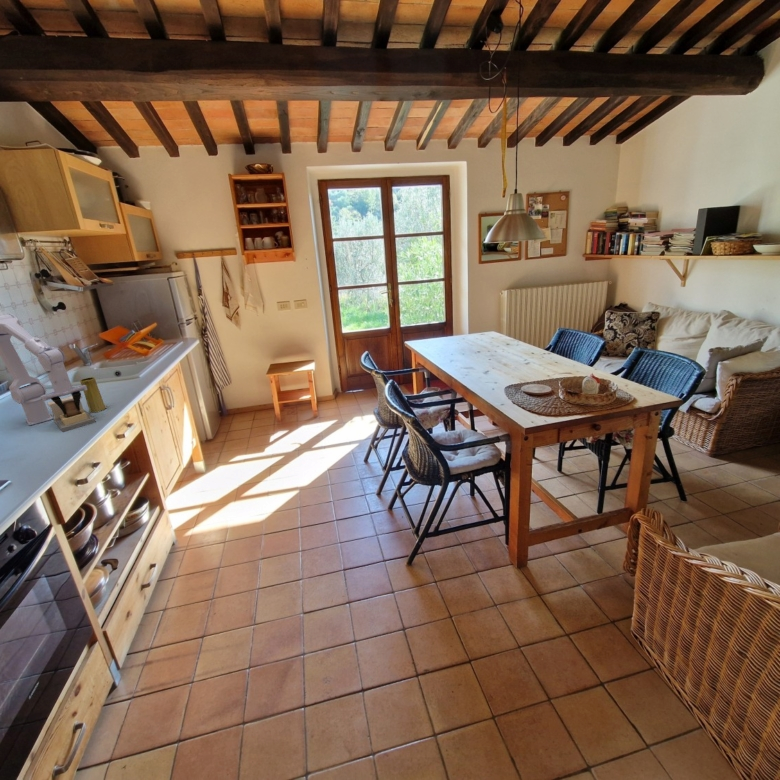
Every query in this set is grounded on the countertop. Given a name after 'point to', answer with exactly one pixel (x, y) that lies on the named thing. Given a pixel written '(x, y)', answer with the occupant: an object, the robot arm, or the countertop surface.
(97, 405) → the vase
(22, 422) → the countertop surface
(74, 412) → the peg
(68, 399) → the socket stand
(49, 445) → the countertop surface
